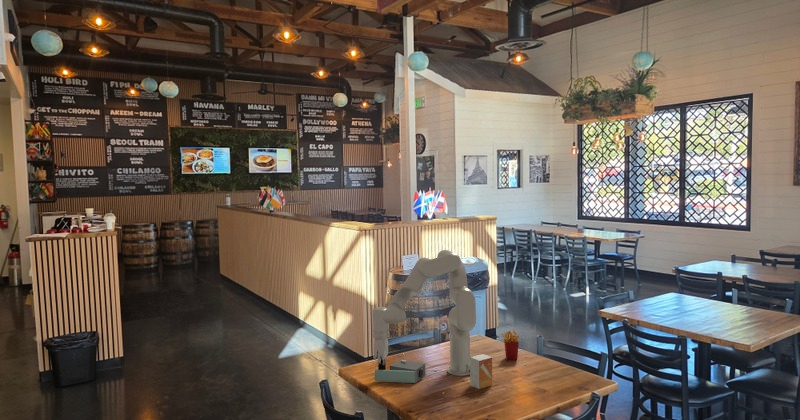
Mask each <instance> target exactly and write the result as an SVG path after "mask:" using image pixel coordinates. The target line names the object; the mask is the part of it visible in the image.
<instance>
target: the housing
mask: <svg viewBox="0 0 800 420" xmlns="http://www.w3.org/2000/svg"><path fill="white" fill-rule="evenodd" d="M389 370H399V371H416V383H415V384H417V383H418V382H420V381H421V380H422V379H423V378H424V377H425V378H426V375H427V373H426V372H427V371H426V363H425V362H419V361H413V360H407V359H401V358H399V359H397V360H396V361H395V362H393V363H391V364H390V365H389Z"/></svg>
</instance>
